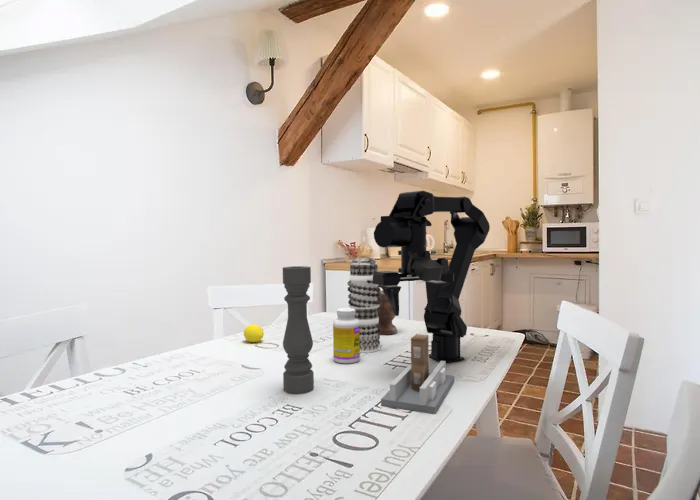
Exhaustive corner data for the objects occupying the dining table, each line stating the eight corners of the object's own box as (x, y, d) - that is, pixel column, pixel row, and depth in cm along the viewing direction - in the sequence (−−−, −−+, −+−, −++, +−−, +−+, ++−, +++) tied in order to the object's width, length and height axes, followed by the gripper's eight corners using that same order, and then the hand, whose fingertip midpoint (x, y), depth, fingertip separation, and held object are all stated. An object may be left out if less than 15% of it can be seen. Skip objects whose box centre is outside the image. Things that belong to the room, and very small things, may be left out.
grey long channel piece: (408, 376, 97) (408, 357, 97) (454, 381, 93) (454, 362, 93) (381, 405, 81) (380, 382, 81) (435, 413, 77) (434, 390, 77)
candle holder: (318, 385, 92) (316, 266, 91) (306, 395, 86) (304, 268, 85) (291, 382, 94) (289, 266, 93) (278, 392, 88) (275, 268, 87)
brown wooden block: (416, 382, 89) (416, 334, 89) (428, 384, 88) (428, 335, 88) (410, 390, 85) (409, 339, 84) (422, 392, 84) (422, 340, 83)
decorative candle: (379, 344, 126) (378, 256, 125) (383, 352, 116) (382, 258, 116) (347, 344, 125) (346, 257, 125) (348, 353, 116) (347, 259, 115)
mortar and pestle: (383, 339, 132) (383, 272, 131) (360, 335, 137) (359, 271, 136) (403, 331, 141) (402, 269, 140) (380, 328, 146) (380, 268, 146)
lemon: (267, 343, 131) (269, 325, 130) (254, 347, 126) (256, 329, 126) (250, 337, 135) (252, 320, 134) (237, 341, 130) (238, 323, 129)
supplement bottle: (357, 365, 106) (356, 312, 106) (330, 363, 107) (329, 311, 107) (362, 357, 113) (361, 307, 112) (336, 356, 114) (336, 307, 113)
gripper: (396, 248, 90) (396, 324, 90) (469, 246, 97) (469, 316, 98) (371, 247, 100) (371, 315, 100) (439, 245, 107) (439, 308, 108)
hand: (414, 314), depth 101 cm, fingers open, 9 cm apart
